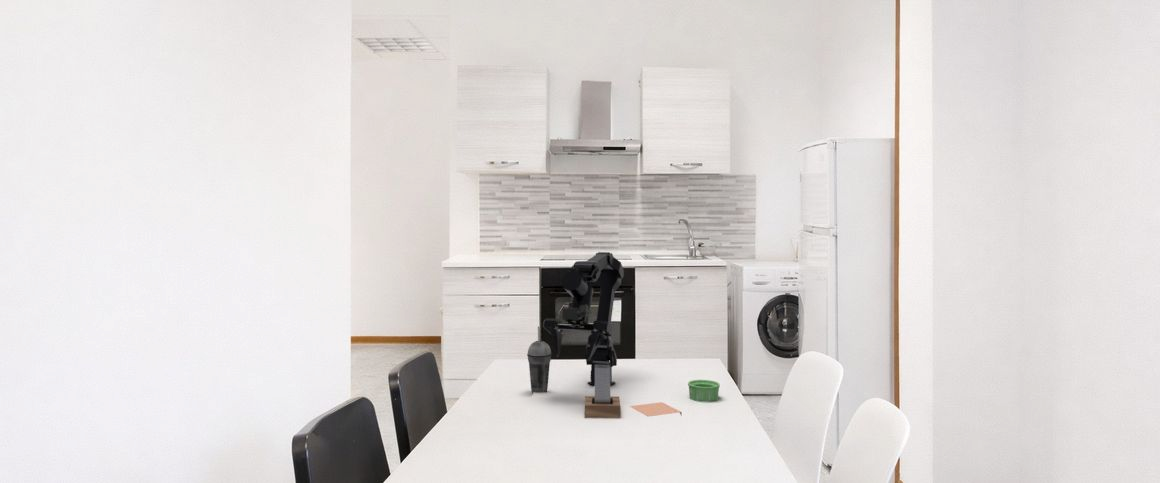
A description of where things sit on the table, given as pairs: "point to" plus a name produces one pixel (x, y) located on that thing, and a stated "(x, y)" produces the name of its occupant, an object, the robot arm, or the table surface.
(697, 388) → the ramekin
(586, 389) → the table surface
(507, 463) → the table surface
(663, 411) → the mat
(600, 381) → the peg
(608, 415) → the socket block
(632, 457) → the table surface
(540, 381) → the beverage cup
